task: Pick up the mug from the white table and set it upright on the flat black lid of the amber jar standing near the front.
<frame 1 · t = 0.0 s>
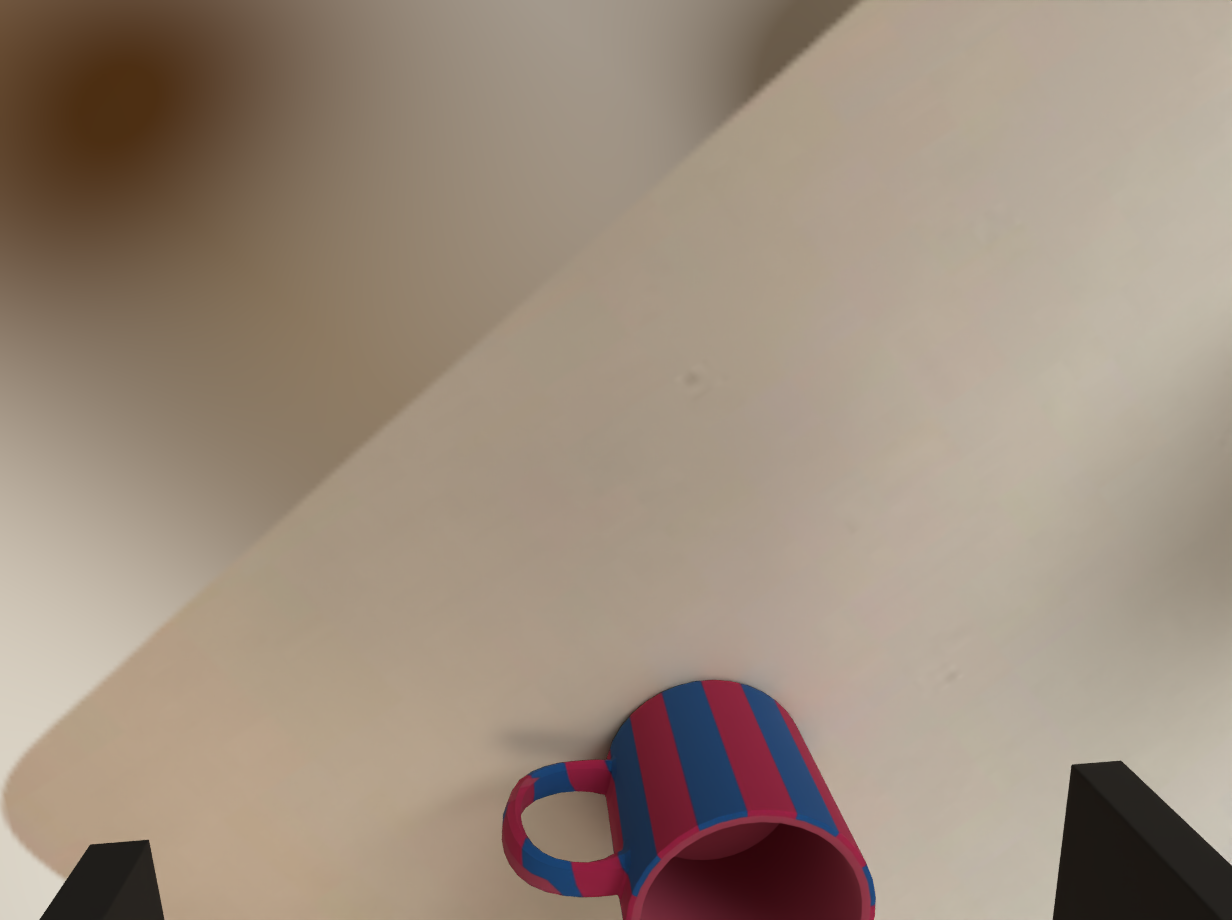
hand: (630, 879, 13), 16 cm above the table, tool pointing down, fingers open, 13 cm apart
mug: (658, 752, 31), on the table
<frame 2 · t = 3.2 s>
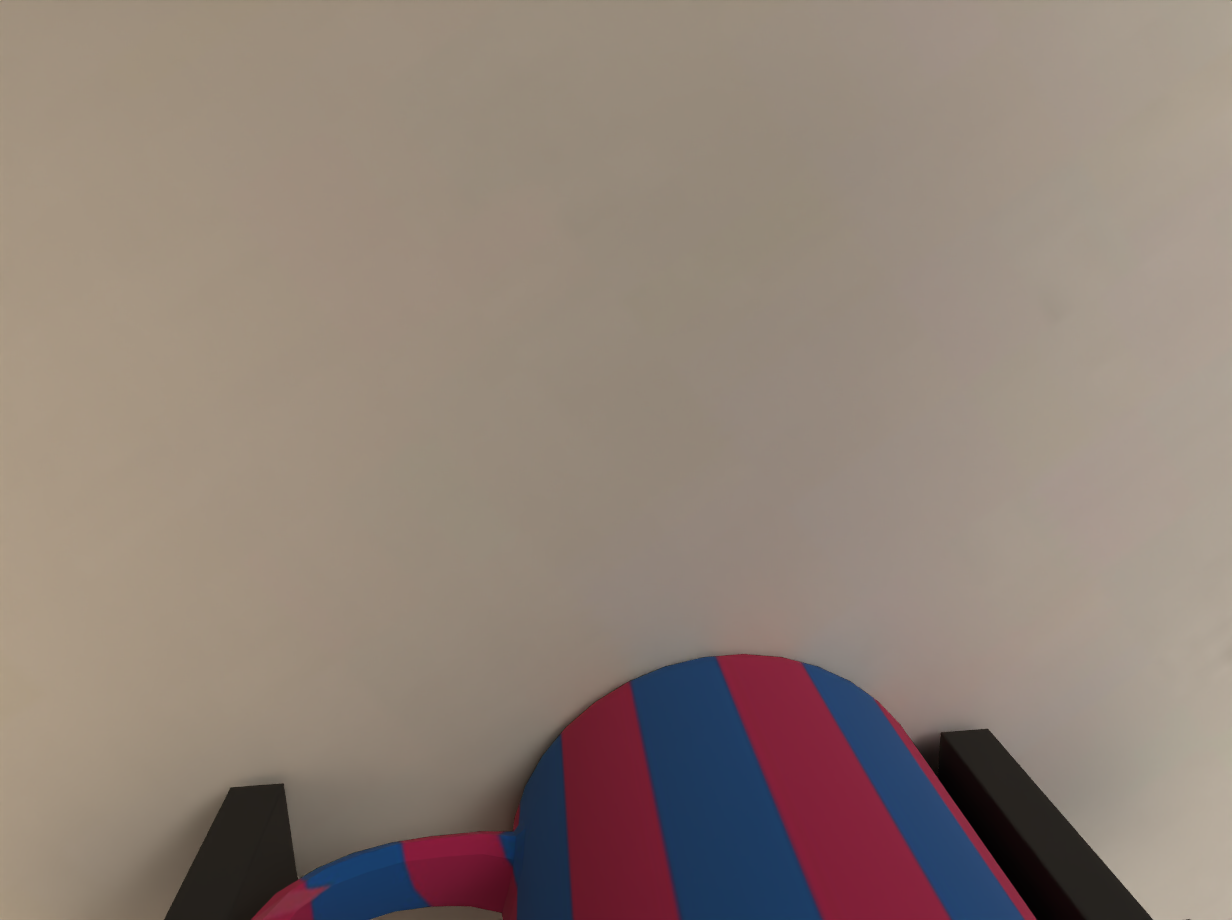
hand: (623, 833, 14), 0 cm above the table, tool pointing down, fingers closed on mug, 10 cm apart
mug: (624, 808, 15), on the table, touching gripper
when the fingers open (13 cm above the table, at t = 9.7 s): mug stays where it is, resting on jar.
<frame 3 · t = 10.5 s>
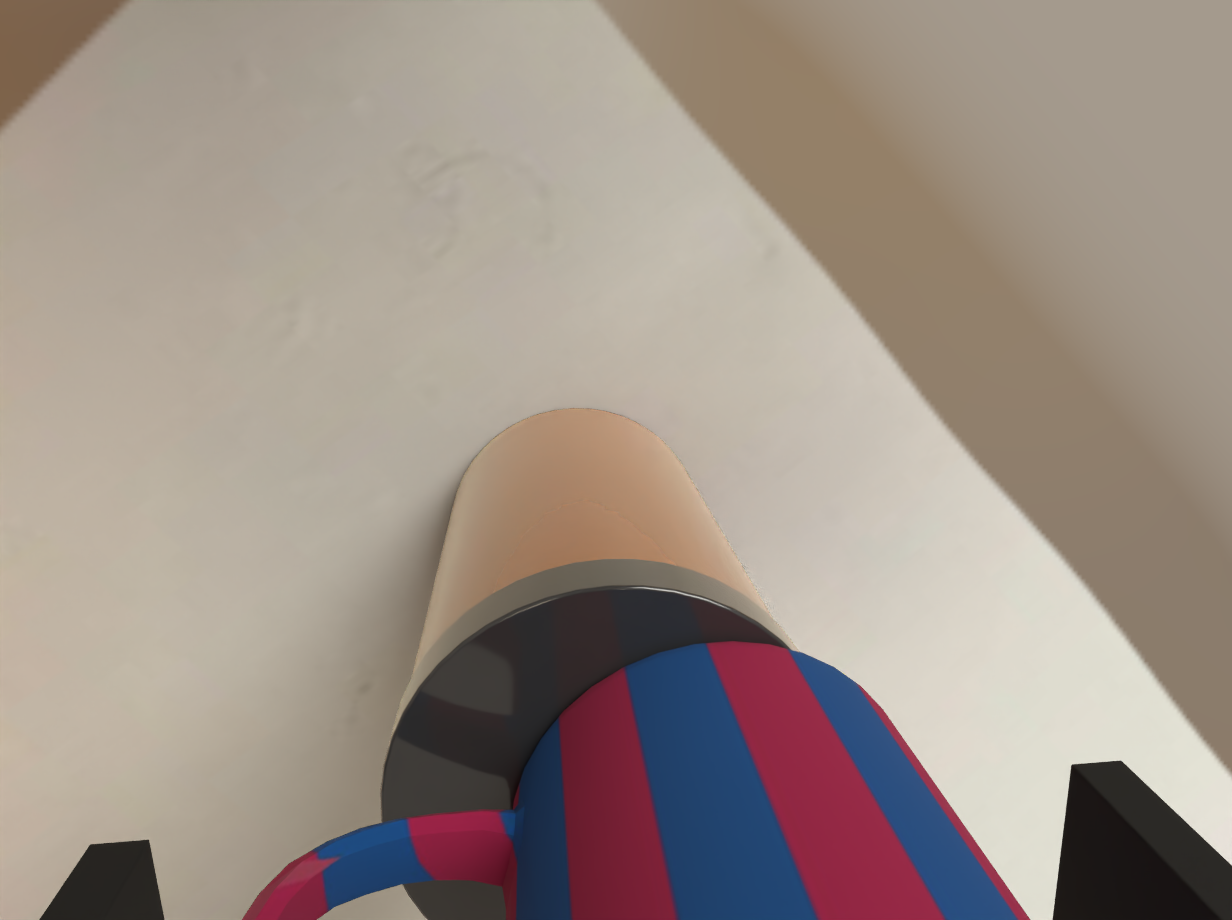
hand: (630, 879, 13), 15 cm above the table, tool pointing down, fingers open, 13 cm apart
jar: (576, 528, 28), on the table, touching mug
mug: (619, 790, 15), point 13 cm above the table, touching jar
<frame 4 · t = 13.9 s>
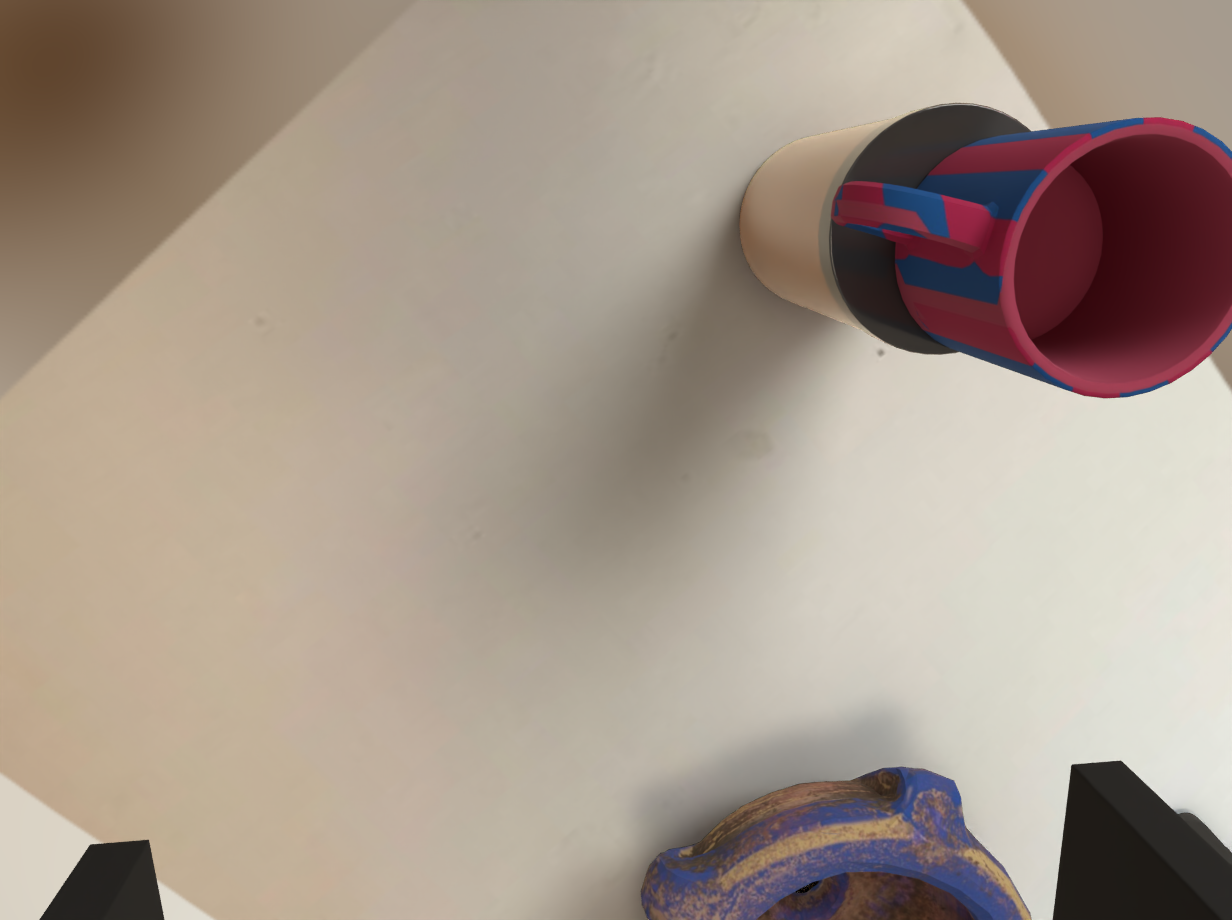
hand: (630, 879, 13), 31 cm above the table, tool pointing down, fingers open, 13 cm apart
jar: (820, 222, 42), on the table, touching mug
phone: (1199, 915, 54), on the table
bowl: (799, 862, 51), on the table
mug: (948, 230, 29), point 13 cm above the table, touching jar
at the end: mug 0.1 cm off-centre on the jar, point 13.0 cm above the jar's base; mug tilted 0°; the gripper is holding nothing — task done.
